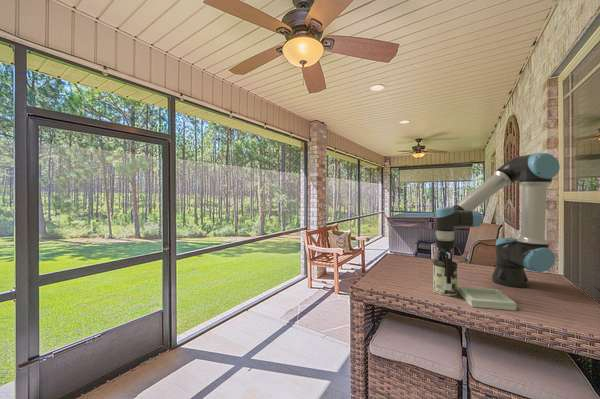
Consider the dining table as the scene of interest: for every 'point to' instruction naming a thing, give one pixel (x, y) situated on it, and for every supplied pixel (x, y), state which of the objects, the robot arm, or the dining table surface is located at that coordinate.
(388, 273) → the dining table surface
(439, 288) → the coffee can
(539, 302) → the dining table surface
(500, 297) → the base plate
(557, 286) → the dining table surface
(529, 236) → the robot arm
